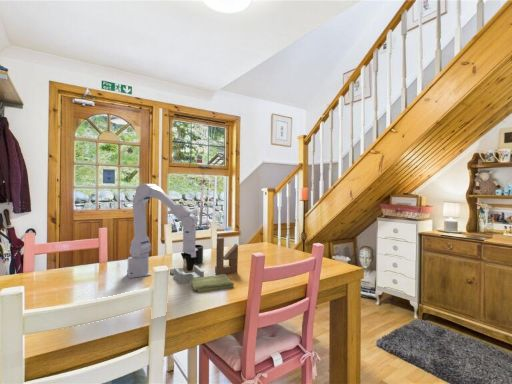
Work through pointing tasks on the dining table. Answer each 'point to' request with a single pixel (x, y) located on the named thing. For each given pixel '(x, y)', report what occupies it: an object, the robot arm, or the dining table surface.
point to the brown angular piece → (226, 258)
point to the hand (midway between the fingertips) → (188, 269)
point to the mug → (199, 254)
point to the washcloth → (211, 283)
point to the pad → (173, 270)
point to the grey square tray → (188, 275)
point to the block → (186, 267)
